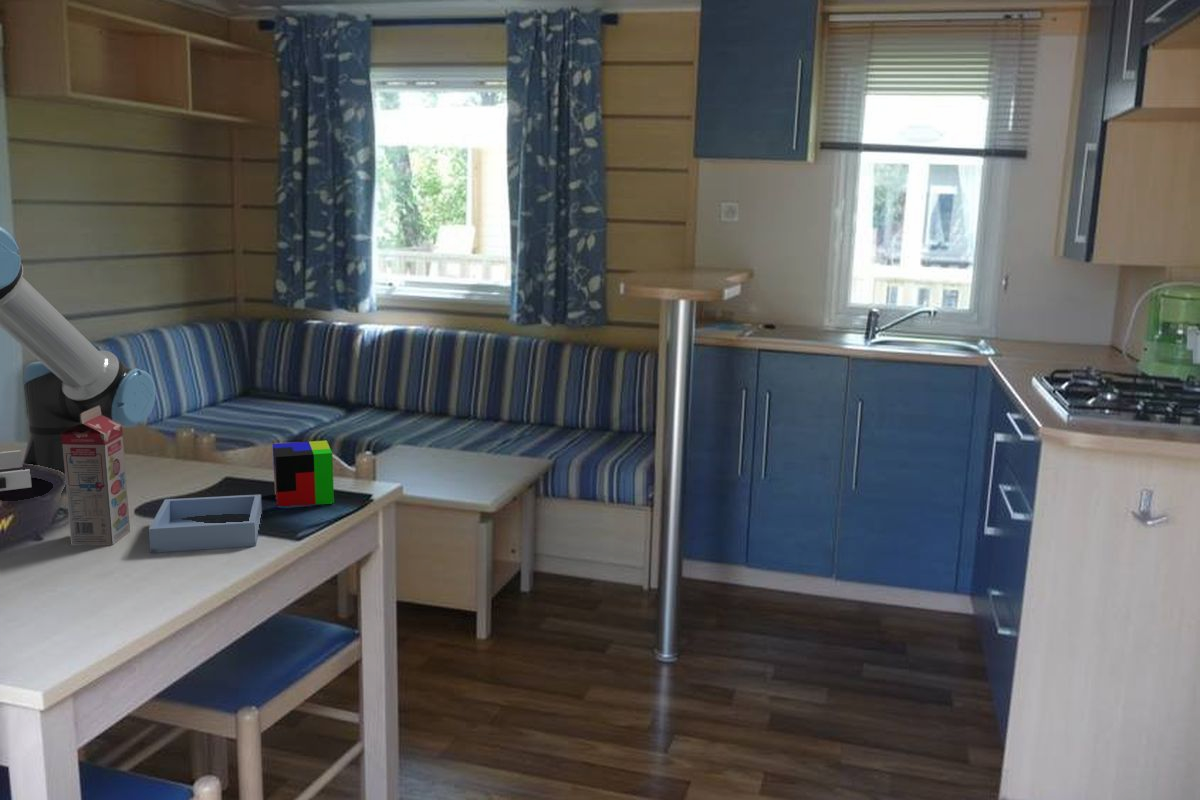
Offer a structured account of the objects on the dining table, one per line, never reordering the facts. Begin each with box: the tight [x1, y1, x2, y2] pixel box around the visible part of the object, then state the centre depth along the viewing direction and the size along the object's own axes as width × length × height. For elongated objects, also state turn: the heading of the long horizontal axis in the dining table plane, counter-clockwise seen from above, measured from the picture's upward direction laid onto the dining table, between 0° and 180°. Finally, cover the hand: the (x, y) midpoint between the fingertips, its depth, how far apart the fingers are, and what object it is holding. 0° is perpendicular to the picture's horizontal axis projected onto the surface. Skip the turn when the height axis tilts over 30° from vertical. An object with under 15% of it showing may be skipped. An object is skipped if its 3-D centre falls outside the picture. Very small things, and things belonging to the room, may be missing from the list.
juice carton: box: [61, 405, 131, 546], centre depth 163 cm, size 7×7×22 cm
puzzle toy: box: [272, 439, 335, 507], centre depth 188 cm, size 10×10×10 cm
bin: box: [148, 494, 263, 554], centre depth 169 cm, size 16×16×4 cm
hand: (26, 468), depth 157 cm, fingers open, 13 cm apart
